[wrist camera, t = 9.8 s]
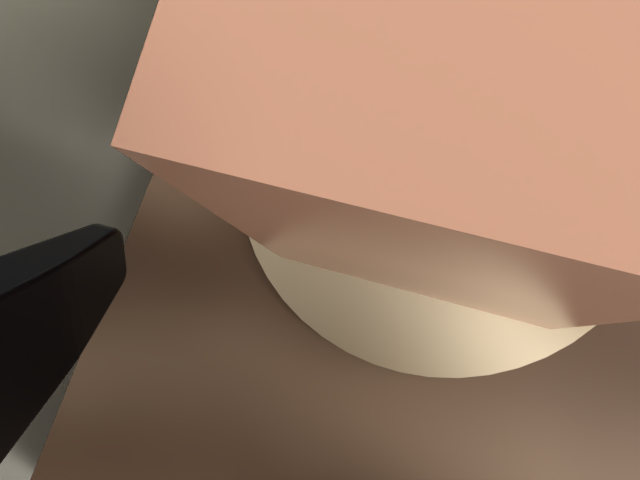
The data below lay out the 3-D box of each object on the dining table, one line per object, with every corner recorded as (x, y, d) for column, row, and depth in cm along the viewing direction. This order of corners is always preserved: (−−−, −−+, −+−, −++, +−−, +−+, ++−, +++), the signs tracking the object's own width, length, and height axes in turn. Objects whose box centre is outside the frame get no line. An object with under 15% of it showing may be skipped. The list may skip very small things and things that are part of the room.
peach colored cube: (550, 328, 14) (772, 308, 5) (280, 256, 15) (110, 145, 6) (611, 64, 14) (889, -320, 6) (350, 16, 15) (281, -362, 7)
